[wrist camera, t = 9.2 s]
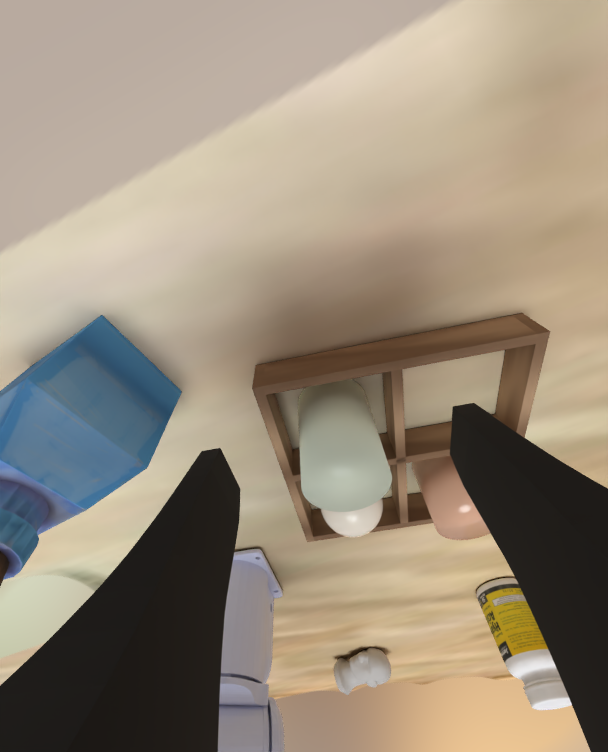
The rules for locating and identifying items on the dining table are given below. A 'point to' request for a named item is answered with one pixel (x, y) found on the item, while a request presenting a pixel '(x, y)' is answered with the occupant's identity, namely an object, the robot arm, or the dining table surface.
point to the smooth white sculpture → (362, 670)
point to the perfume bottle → (75, 433)
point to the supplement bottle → (522, 643)
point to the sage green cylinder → (340, 448)
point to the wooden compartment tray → (401, 445)
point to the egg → (354, 520)
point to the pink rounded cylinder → (448, 499)
